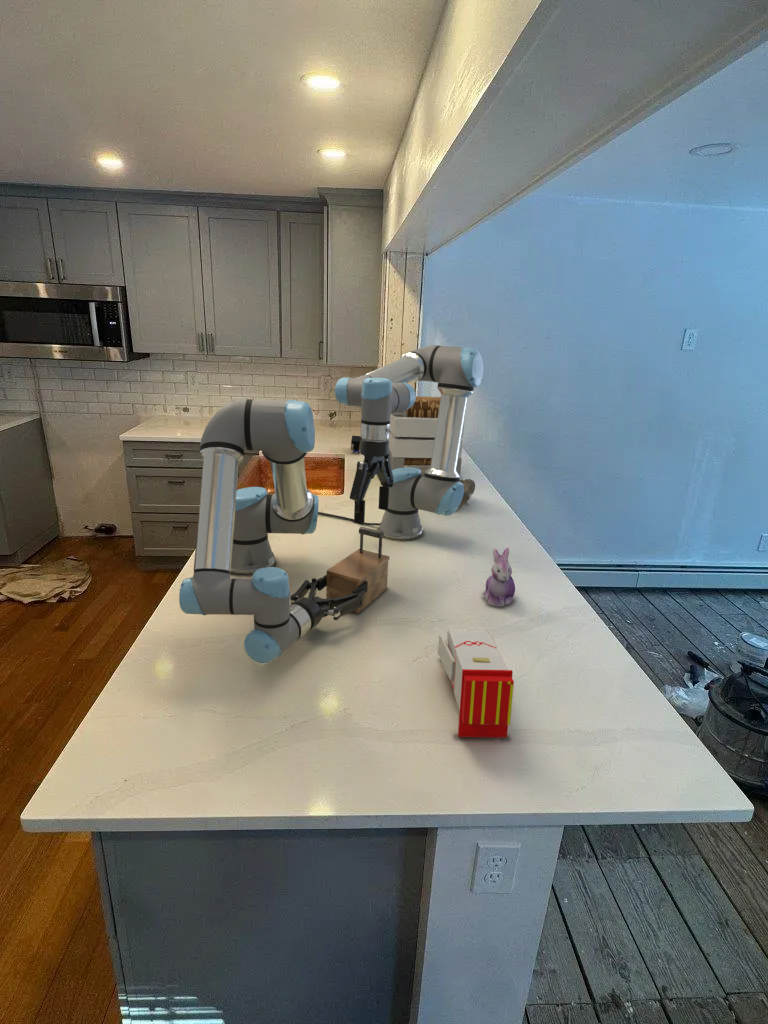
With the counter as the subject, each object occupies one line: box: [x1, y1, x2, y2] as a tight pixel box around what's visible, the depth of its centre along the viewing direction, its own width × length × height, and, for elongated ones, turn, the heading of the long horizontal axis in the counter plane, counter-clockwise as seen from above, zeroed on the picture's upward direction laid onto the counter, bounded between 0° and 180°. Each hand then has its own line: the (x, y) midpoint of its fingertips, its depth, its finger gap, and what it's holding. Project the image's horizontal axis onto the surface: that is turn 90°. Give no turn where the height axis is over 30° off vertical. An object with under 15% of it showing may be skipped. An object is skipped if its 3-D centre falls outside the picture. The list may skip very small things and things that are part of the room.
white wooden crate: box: [387, 395, 465, 480], centre depth 268 cm, size 34×33×41 cm
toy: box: [437, 628, 515, 738], centre depth 117 cm, size 12×13×30 cm
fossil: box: [457, 478, 476, 510], centre depth 232 cm, size 22×10×15 cm
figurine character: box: [350, 435, 362, 454], centre depth 309 cm, size 7×8×15 cm
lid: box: [326, 526, 391, 583], centre depth 152 cm, size 17×10×9 cm, turn 152°
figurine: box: [484, 547, 516, 607], centre depth 155 cm, size 9×10×15 cm
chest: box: [325, 560, 389, 614], centre depth 154 cm, size 16×10×9 cm, turn 152°
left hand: (349, 581), depth 149 cm, fingers closed on chest, 10 cm apart
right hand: (371, 516), depth 154 cm, fingers open, 13 cm apart
